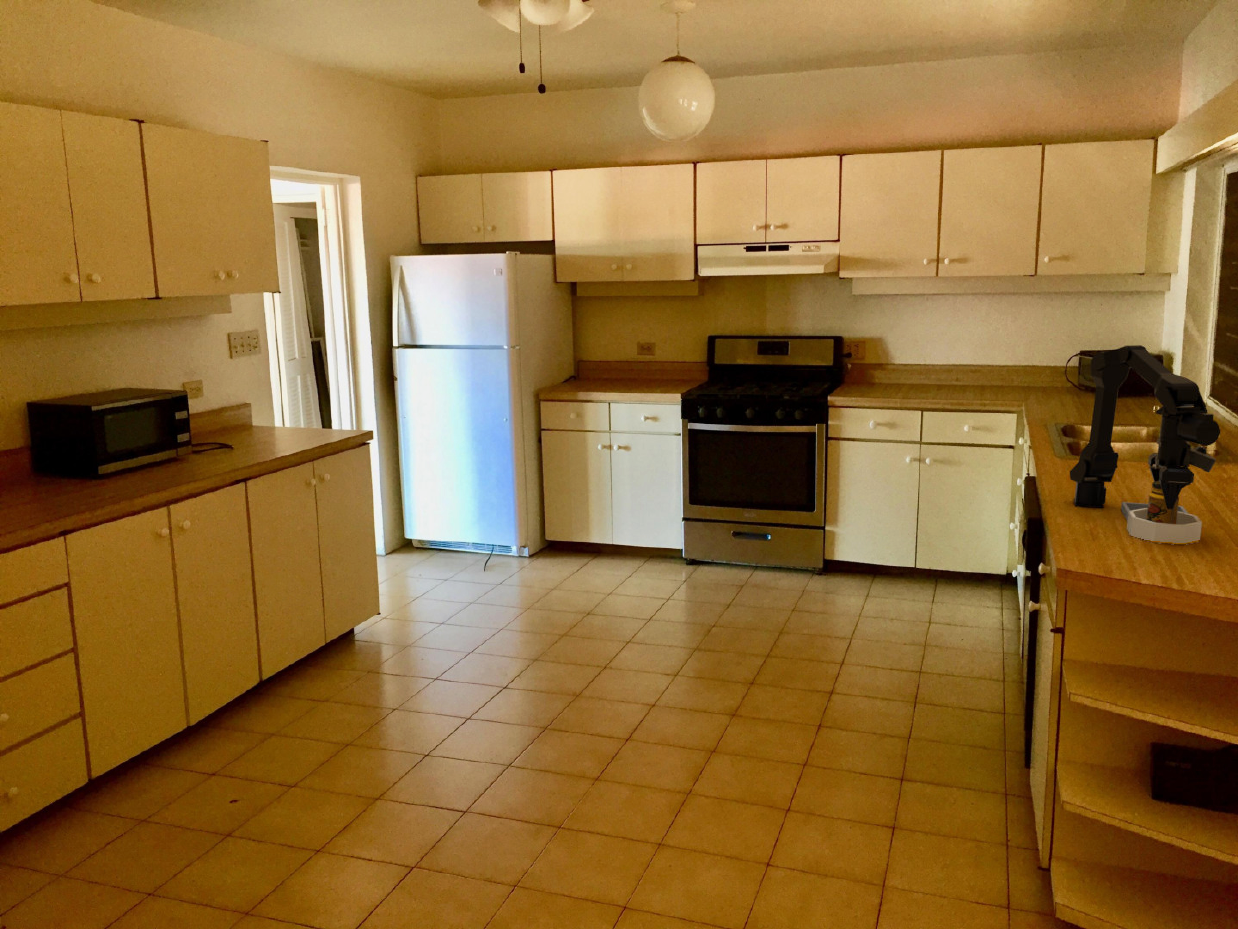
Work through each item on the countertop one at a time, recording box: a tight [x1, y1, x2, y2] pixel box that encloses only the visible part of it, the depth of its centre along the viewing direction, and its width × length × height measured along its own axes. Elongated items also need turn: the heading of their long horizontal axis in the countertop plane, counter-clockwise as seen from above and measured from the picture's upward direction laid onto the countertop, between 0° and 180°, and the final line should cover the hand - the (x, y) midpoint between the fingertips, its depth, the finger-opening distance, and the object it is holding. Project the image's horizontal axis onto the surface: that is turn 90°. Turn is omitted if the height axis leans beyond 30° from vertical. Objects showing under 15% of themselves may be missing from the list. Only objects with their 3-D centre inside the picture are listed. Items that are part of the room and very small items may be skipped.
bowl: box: [1126, 508, 1203, 543], centre depth 224 cm, size 14×14×4 cm
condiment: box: [1147, 481, 1180, 524], centre depth 224 cm, size 7×8×12 cm
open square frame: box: [1120, 501, 1190, 522], centre depth 238 cm, size 14×14×2 cm
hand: (1166, 503), depth 223 cm, fingers open, 9 cm apart
